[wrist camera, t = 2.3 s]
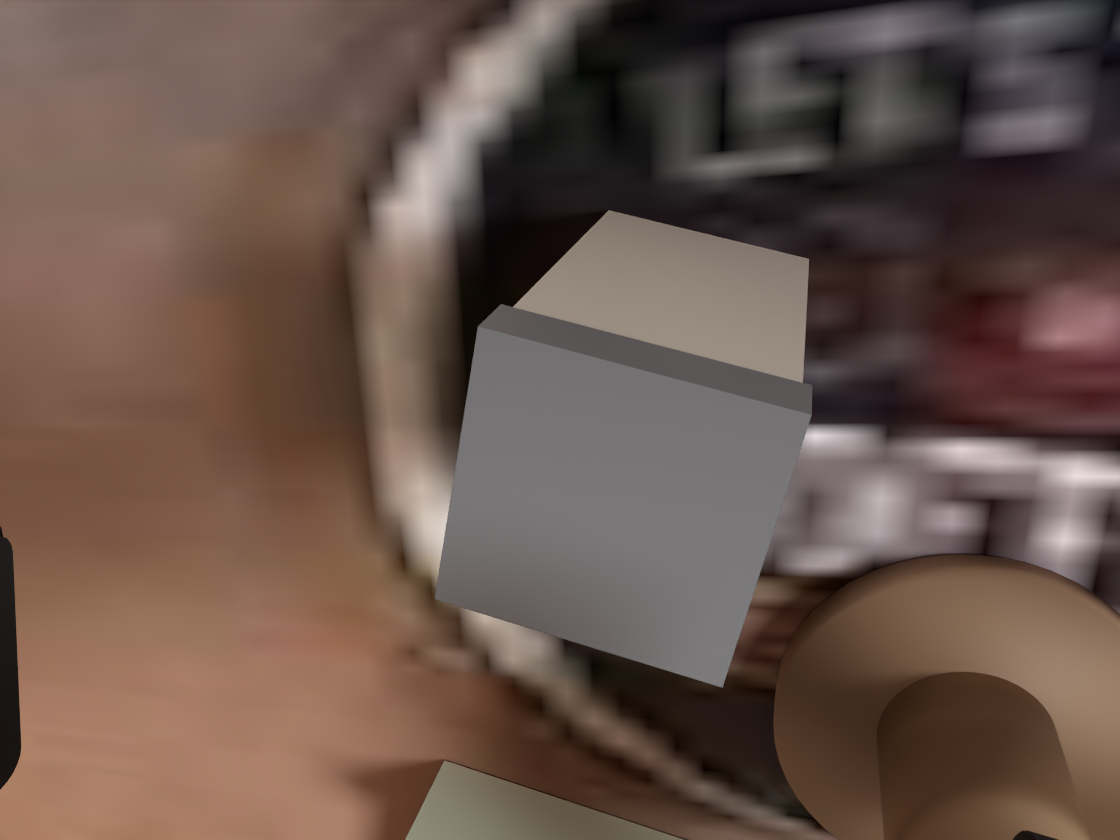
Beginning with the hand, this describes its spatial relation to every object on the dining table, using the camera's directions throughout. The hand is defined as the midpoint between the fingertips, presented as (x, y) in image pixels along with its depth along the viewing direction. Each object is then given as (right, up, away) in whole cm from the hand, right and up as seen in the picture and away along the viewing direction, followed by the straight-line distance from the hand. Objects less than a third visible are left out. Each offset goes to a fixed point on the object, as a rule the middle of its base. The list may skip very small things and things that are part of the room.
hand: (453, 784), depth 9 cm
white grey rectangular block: (+4, +5, +11) cm, 13 cm away
